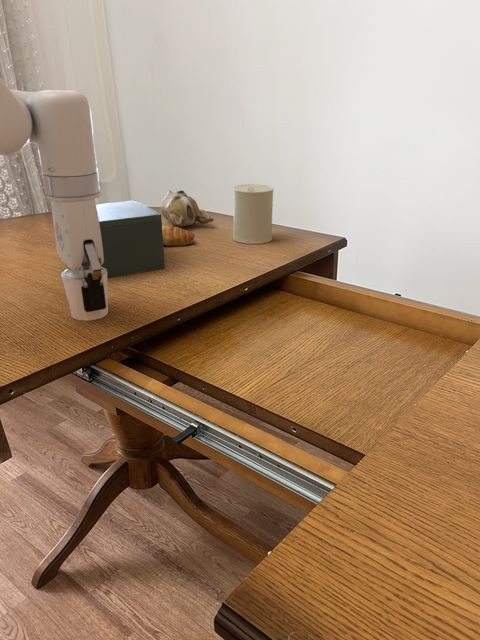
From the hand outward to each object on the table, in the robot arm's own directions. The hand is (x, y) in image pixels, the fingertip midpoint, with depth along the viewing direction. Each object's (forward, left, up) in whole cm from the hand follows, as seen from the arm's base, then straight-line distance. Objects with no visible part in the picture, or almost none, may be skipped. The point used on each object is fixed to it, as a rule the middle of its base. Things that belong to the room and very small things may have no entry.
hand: (88, 300), depth 86 cm
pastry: (+27, +31, -2) cm, 41 cm away
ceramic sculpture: (+36, +44, -2) cm, 57 cm away
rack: (+11, +22, -2) cm, 25 cm away
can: (+45, +25, -2) cm, 52 cm away
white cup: (0, 0, -2) cm, 2 cm away
